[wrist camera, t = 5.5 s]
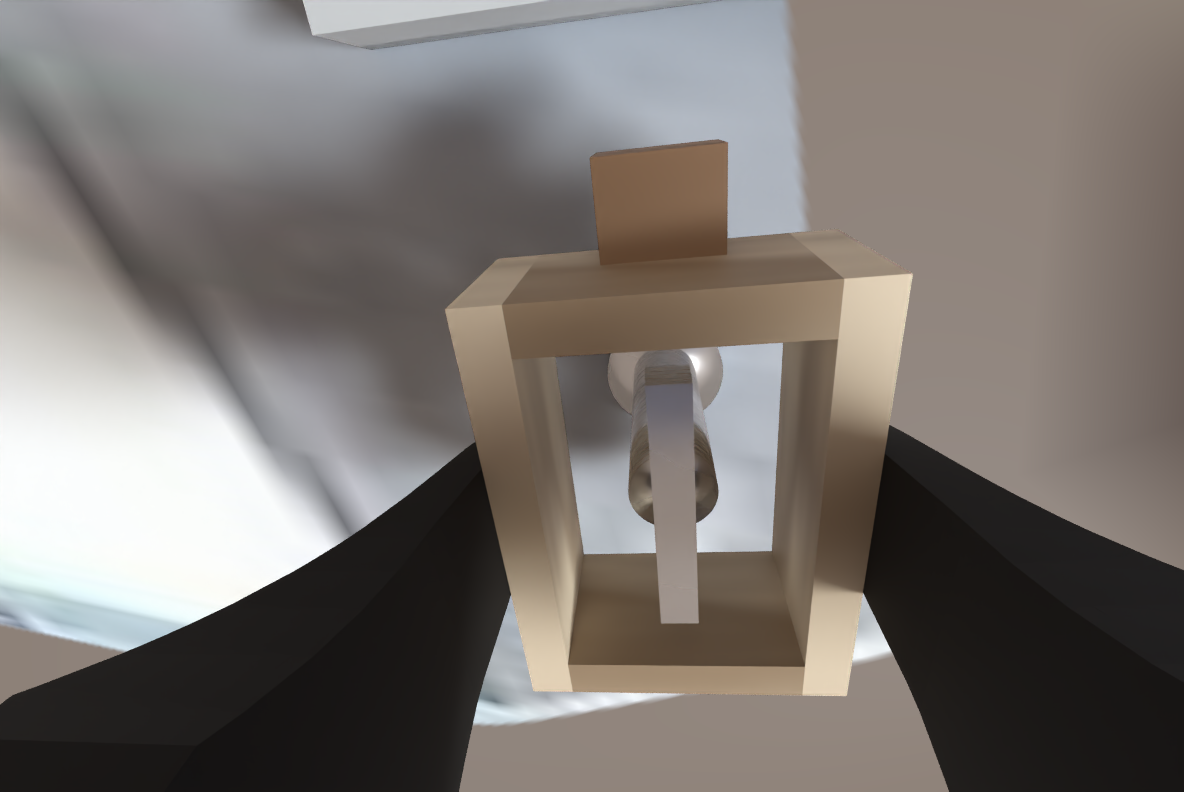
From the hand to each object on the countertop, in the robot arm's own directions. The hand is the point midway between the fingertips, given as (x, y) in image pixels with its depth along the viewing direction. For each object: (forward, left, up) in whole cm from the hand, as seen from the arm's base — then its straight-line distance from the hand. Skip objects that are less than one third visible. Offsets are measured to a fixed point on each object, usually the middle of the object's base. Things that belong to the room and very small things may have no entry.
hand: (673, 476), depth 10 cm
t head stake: (0, 0, -5) cm, 5 cm away
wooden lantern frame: (0, 0, -1) cm, 1 cm away
